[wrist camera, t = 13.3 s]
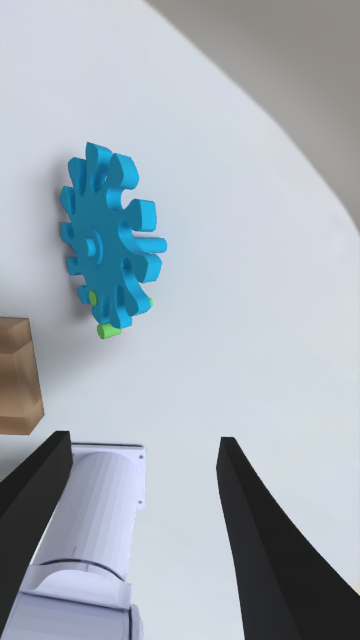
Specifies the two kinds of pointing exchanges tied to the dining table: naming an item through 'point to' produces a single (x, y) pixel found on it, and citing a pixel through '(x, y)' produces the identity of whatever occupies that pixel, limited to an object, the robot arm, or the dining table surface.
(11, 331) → the socket block
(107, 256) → the gear
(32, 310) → the dining table surface
